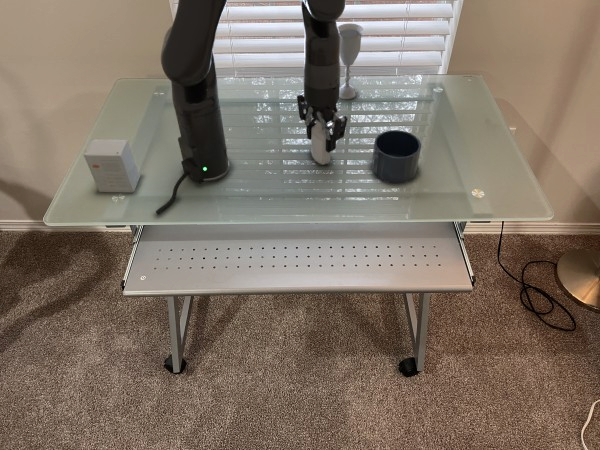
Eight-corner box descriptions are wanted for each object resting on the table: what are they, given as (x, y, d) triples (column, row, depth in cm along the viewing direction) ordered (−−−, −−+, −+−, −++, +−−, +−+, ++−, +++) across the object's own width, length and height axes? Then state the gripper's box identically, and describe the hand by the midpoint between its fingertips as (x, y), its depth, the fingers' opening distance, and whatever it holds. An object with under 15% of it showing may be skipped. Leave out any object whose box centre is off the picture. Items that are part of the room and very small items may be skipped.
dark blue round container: (395, 189, 110) (399, 164, 105) (362, 167, 116) (364, 142, 111) (425, 169, 115) (430, 144, 110) (392, 149, 120) (395, 124, 115)
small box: (141, 176, 115) (128, 139, 107) (133, 193, 111) (120, 155, 103) (106, 175, 115) (92, 138, 108) (98, 192, 111) (82, 154, 104)
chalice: (357, 102, 135) (361, 37, 122) (332, 100, 136) (334, 35, 123) (360, 88, 140) (365, 24, 127) (336, 85, 141) (338, 22, 128)
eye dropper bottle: (311, 165, 116) (311, 122, 108) (311, 150, 120) (311, 107, 112) (330, 165, 116) (331, 121, 108) (329, 150, 120) (330, 107, 112)
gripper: (285, 71, 106) (288, 137, 118) (332, 98, 98) (330, 166, 110) (312, 59, 109) (312, 124, 121) (359, 85, 101) (354, 152, 113)
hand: (320, 144), depth 115 cm, fingers closed on eye dropper bottle, 5 cm apart
